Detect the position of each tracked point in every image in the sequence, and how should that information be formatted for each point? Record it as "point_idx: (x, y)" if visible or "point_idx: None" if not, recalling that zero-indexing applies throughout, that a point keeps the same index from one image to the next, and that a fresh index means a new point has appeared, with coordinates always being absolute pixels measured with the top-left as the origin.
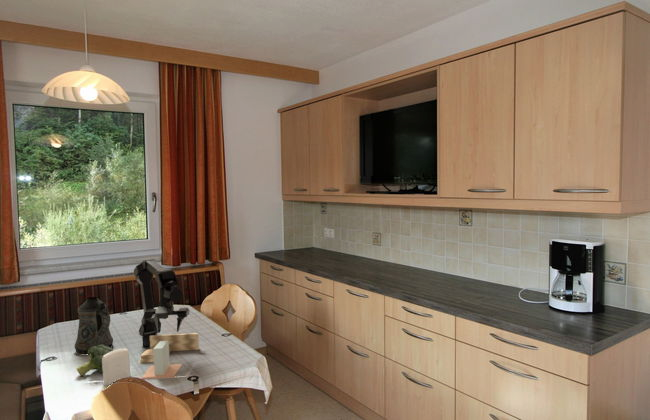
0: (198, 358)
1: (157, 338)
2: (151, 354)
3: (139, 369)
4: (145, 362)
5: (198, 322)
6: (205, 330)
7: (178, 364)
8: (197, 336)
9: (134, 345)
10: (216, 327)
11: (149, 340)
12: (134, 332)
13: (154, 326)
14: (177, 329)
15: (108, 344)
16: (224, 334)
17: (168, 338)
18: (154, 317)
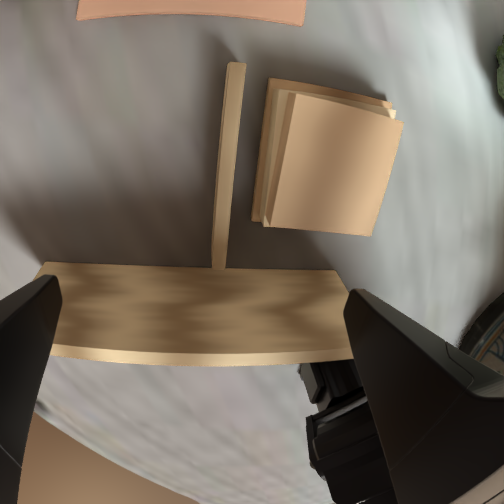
0: (4, 134)
1: (318, 334)
2: (331, 113)
3: (367, 16)
4: (351, 97)
5: (187, 482)
6: (132, 447)
7: (98, 8)
8: None
9: None
10: (104, 454)
11: (354, 363)
12: None
13: (428, 337)
14: (33, 289)
15: (486, 334)
16: (37, 405)
17: (230, 333)
18: (491, 474)
